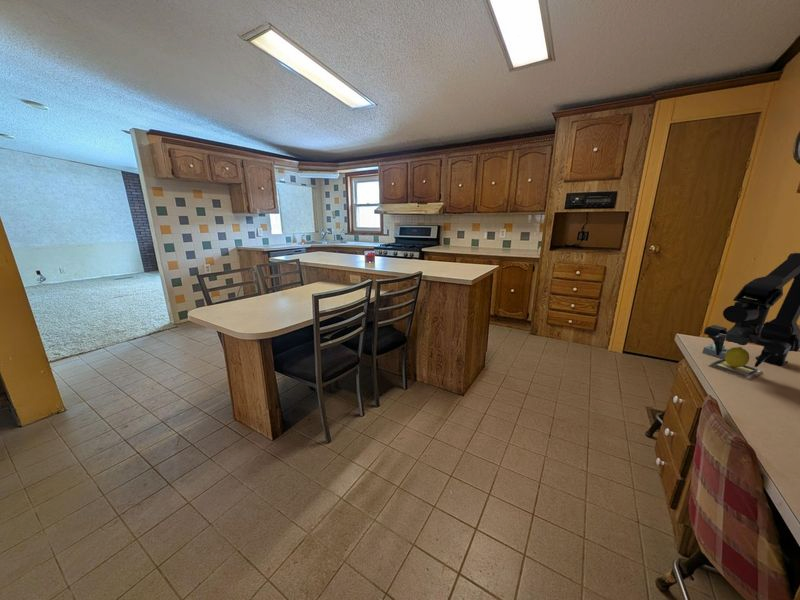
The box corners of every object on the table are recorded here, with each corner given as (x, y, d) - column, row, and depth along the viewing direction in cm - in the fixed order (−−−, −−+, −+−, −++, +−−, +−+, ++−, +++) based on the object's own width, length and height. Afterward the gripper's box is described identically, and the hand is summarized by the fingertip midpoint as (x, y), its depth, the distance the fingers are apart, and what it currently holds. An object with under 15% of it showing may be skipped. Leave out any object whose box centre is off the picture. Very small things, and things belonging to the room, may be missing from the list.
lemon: (749, 372, 99) (757, 351, 97) (730, 370, 100) (737, 349, 98) (735, 364, 104) (743, 344, 102) (717, 363, 105) (724, 343, 103)
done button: (713, 350, 115) (715, 343, 114) (723, 353, 112) (726, 346, 111) (709, 351, 114) (712, 344, 113) (720, 355, 111) (722, 347, 110)
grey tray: (722, 360, 109) (723, 356, 109) (762, 372, 100) (764, 369, 100) (708, 366, 105) (709, 362, 104) (748, 380, 96) (750, 376, 95)
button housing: (709, 349, 117) (711, 344, 116) (730, 356, 112) (732, 350, 111) (702, 352, 115) (704, 347, 114) (723, 359, 109) (725, 353, 109)
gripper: (702, 314, 102) (690, 354, 106) (786, 333, 85) (767, 379, 90) (717, 310, 106) (705, 348, 111) (799, 327, 90) (781, 371, 94)
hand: (736, 360), depth 101 cm, fingers open, 9 cm apart
